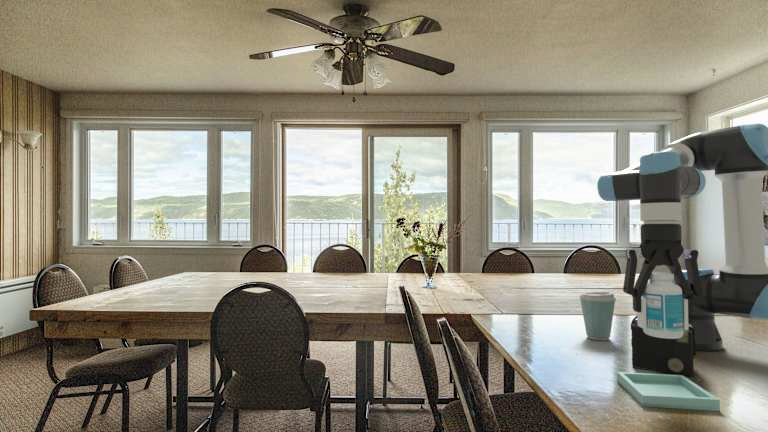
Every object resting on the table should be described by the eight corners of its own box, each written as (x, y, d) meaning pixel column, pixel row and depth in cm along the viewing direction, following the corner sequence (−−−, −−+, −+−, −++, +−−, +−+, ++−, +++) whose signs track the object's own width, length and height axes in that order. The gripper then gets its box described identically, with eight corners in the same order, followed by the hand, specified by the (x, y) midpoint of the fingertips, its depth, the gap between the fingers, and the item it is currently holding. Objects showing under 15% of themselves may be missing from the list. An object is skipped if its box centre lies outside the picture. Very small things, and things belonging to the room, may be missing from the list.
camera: (698, 379, 100) (696, 316, 101) (630, 369, 108) (629, 310, 108) (693, 366, 110) (692, 309, 110) (632, 358, 117) (631, 304, 117)
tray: (682, 384, 97) (682, 375, 97) (719, 411, 83) (719, 399, 83) (617, 381, 100) (617, 371, 100) (642, 406, 86) (642, 395, 86)
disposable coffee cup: (581, 340, 135) (580, 293, 135) (579, 332, 145) (578, 289, 145) (618, 344, 131) (618, 295, 131) (614, 335, 141) (613, 290, 141)
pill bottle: (679, 333, 93) (678, 272, 94) (687, 341, 87) (686, 275, 87) (640, 329, 97) (639, 270, 97) (645, 337, 90) (643, 274, 90)
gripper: (702, 222, 94) (704, 325, 94) (604, 223, 98) (606, 322, 97) (723, 222, 87) (725, 334, 86) (616, 223, 90) (618, 330, 90)
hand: (662, 327), depth 92 cm, fingers closed on pill bottle, 7 cm apart
